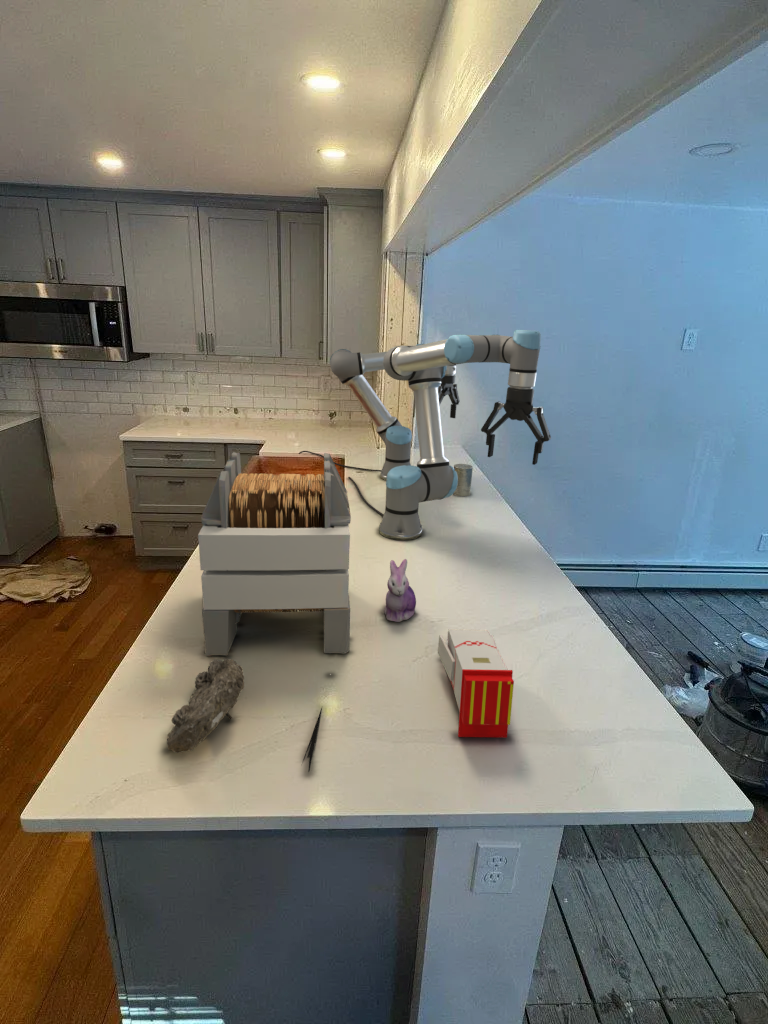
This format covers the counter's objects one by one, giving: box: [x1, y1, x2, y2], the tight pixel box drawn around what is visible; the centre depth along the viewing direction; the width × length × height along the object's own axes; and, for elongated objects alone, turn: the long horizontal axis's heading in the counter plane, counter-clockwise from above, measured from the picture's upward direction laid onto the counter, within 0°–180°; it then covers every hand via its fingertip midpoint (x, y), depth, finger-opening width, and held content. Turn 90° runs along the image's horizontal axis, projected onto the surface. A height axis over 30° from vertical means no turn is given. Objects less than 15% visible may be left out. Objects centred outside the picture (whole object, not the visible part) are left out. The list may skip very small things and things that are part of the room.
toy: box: [437, 628, 515, 738], centre depth 117 cm, size 12×13×30 cm
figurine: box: [384, 558, 417, 623], centre depth 145 cm, size 9×10×15 cm
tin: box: [452, 463, 474, 497], centre depth 245 cm, size 8×8×12 cm
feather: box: [301, 673, 332, 771], centre depth 108 cm, size 2×28×2 cm
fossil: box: [166, 658, 245, 754], centre depth 106 cm, size 22×10×15 cm
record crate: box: [197, 451, 352, 657], centre depth 136 cm, size 34×33×41 cm
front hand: (512, 460), depth 168 cm, fingers open, 13 cm apart
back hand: (444, 419), depth 272 cm, fingers open, 13 cm apart
